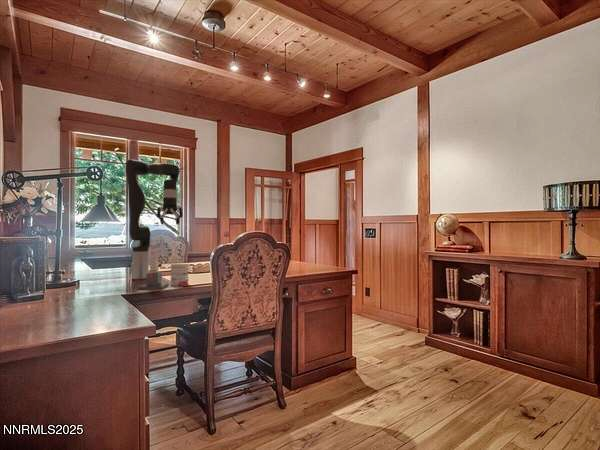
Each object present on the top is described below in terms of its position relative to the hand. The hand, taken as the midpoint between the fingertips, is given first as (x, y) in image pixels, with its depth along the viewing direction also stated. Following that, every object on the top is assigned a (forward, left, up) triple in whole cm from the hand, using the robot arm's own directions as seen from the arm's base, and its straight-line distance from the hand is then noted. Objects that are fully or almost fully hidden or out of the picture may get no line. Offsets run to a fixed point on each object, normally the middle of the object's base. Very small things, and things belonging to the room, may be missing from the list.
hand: (169, 224), depth 206 cm
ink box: (+8, -10, -34) cm, 37 cm away
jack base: (-3, -19, -34) cm, 39 cm away
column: (-3, -19, -27) cm, 33 cm away
